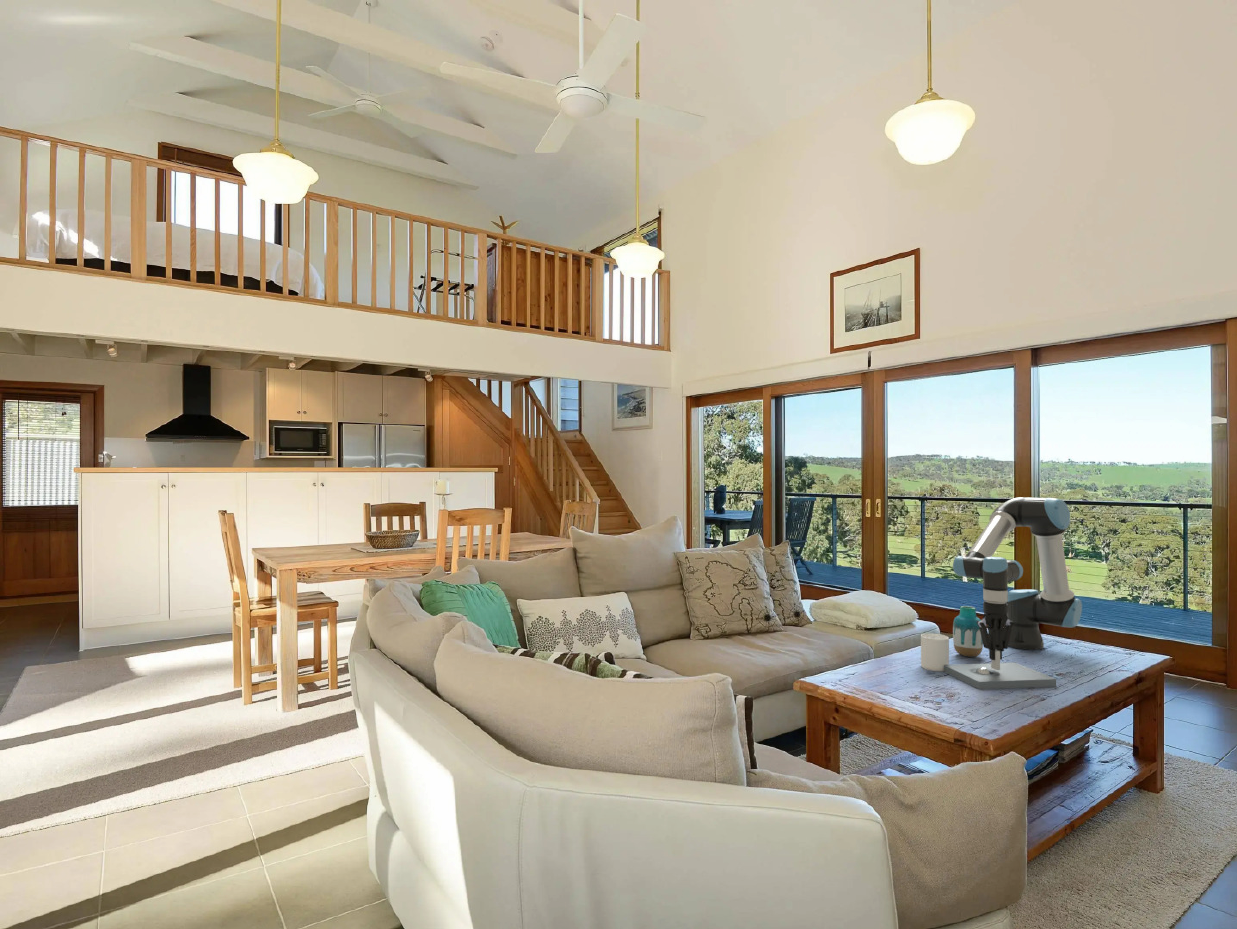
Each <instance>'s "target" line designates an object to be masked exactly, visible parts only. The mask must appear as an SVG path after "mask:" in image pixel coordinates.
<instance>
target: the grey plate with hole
mask: <svg viewBox="0 0 1237 929" xmlns="http://www.w3.org/2000/svg"><path fill="white" fill-rule="evenodd" d="M979 668H986V669H987V670H988V671H989V673H990V675H987V674H981V673H978V672H977V670H978V669H979ZM943 673H946V675H949V676H952V677H954V678H955V679H957V680H959V681H961V682H963V683H966V684H968V685H969V686H972V687H974V688H975V689H977V690H994V689H995V690H996V689H998V690H999V689H1026V688H1049V687H1050V688H1053V687H1054V688H1055V687H1057V678H1055V677H1053V676H1049V675H1048V674H1045V673H1042V672H1039V671H1037V670H1034V669H1032V668H1030V667H1028V666H1025V665H1022V664H1020V663H1017V662H1000V670H995V669H993V668H991V662H990V663H968V664H967V663H962V664H961V663H960V664H949V665H944V671H943Z"/></svg>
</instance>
